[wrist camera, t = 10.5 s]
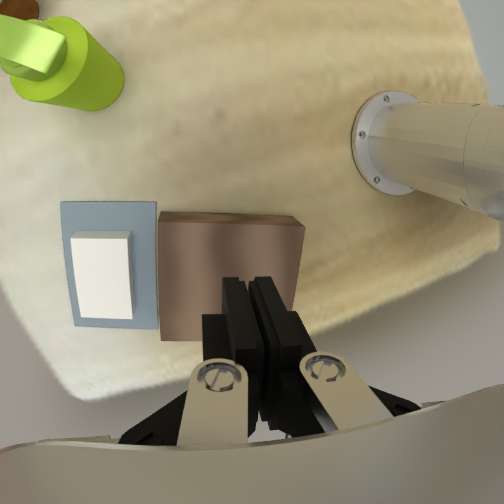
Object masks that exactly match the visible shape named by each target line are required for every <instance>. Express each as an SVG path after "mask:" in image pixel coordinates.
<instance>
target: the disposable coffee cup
mask: <svg viewBox="0 0 504 504" xmlns="http://www.w3.org/2000/svg"><path fill="white" fill-rule="evenodd" d="M0 14H1V15H6V16H10V17H14V18H17V19H21V20H25V21H26V20H30V19H38V16H39V7H38V4H37V3H36V1H35V0H0Z"/></svg>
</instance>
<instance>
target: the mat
mask: <svg viewBox="0 0 504 504" xmlns="http://www.w3.org/2000/svg"><path fill="white" fill-rule="evenodd" d="M60 208H61V225H62V237H63V248H64V257H65V266H66V274H67V281H68V288H69V294H70V300H71V306H72V312H73V317H74V322H75V326H82V327H100V328H124V329H158V312H157V287H156V202H128V201H81V202H60ZM77 231H131V247H132V269H133V285H134V299H135V311H134V316H133V319H110V318H87V317H81V314H80V308H79V302H78V296H77V290H76V283H75V275H74V267H73V259H72V249H71V239H70V238H71V237H72V236H73V235H74V234H75V233H76V232H77Z"/></svg>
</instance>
